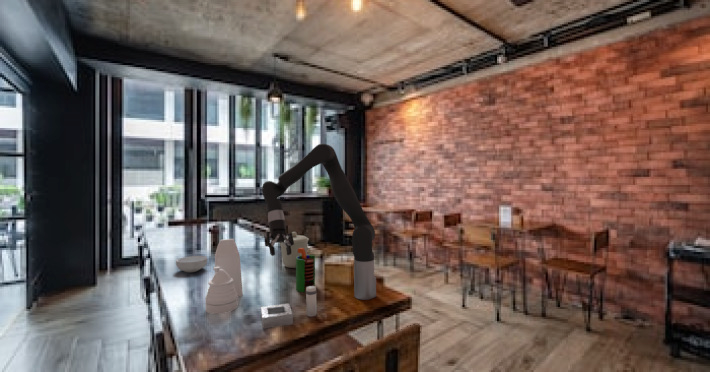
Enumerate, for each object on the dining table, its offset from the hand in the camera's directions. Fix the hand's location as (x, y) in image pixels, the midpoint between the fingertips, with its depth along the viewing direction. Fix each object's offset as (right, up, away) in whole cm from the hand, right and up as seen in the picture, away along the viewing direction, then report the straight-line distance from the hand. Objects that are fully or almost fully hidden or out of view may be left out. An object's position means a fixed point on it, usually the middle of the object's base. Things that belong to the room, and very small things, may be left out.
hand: (281, 255), depth 158 cm
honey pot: (-23, -21, -9) cm, 33 cm away
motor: (+9, -20, +14) cm, 25 cm away
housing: (+3, -21, -23) cm, 31 cm away
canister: (-4, -18, +56) cm, 59 cm away
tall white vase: (-27, -20, +8) cm, 35 cm away
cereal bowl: (-63, -19, +48) cm, 82 cm away
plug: (+16, -21, -18) cm, 31 cm away
